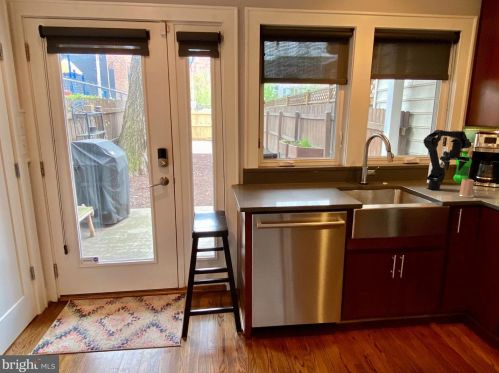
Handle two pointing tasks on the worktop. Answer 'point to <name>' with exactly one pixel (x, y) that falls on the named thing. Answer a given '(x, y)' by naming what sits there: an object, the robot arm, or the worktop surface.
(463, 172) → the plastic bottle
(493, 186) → the worktop surface
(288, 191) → the worktop surface
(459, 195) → the silver pot lid
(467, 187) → the terracotta pot
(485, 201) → the worktop surface
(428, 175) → the milk carton
